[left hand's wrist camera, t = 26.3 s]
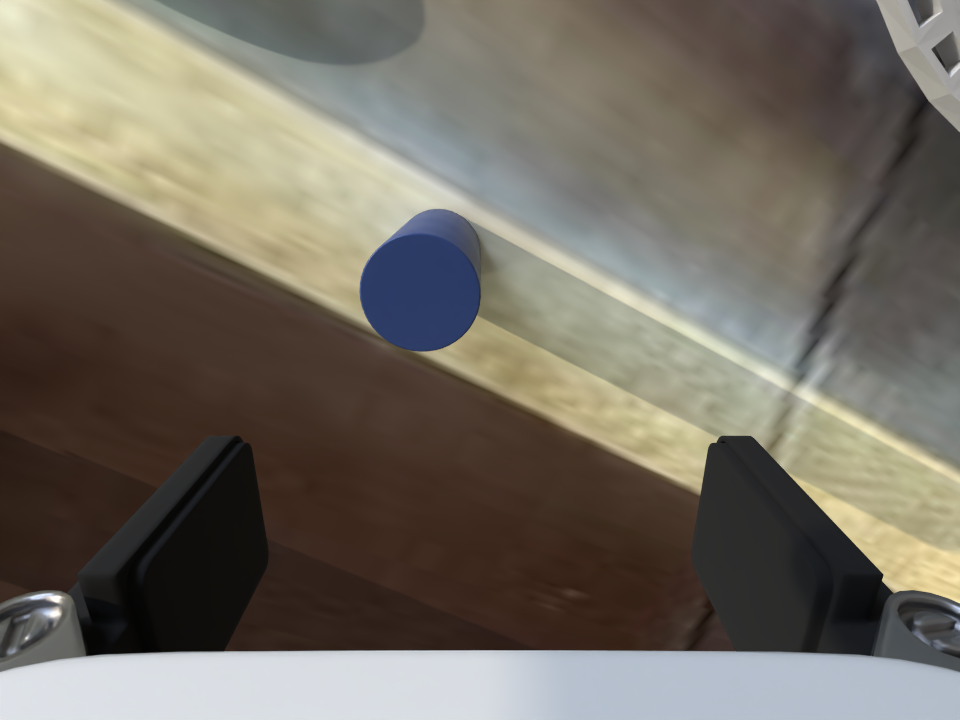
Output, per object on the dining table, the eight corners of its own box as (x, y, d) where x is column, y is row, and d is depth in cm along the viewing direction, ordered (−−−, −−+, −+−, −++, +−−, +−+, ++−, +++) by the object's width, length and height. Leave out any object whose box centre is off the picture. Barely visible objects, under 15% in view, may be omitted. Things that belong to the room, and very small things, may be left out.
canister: (491, 276, 30) (497, 329, 21) (416, 303, 31) (388, 367, 21) (463, 196, 29) (455, 215, 19) (384, 226, 29) (339, 258, 20)
